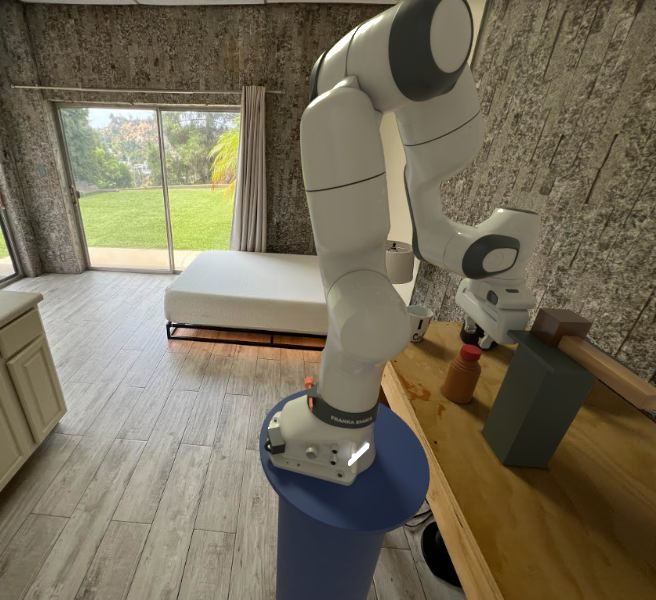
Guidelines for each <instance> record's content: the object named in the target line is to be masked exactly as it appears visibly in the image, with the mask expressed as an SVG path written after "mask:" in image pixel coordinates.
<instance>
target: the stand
mask: <svg viewBox="0 0 656 600" xmlns="http://www.w3.org/2000/svg"><path fill="white" fill-rule="evenodd" d="M507 335H508V336H509V337H510V338H512V339H513V340H514V341H515V342H516V343H517V346H516V348H515V351H514V353H513V355H512V358H511V360H510V362H509V364H508V367H507V370H506V373H505V375H504V377H503V380H502V382H501V384H500V387H499V390H498V392H497V394H496V396H495V399H494V401H493V404H492V406H491V409H490V411H489V413H488V416H487V418H486V420H485V423H484V425H483V428H482V430H481V434H482V436H483V437H484V438H485V440H486V442H487V443H488V444H489V446H490V448H491V449H492V451H493V452H494V454H495V455H496V457H497V458H498V460H499V461H500V463H501V464H502V465H505V466H515V467H516V466H517V467H529V468H541V469H542V468H543V469H546V468H547V467H548V466H549V463H550V461H551V460H552V458H553V457H554V455H555V453H556V451H557V449H558V448H559V446H560V444H561V443H562V440H563V439H564V437H565V436H566V434H567V432H568V430H569V429H570V427H571V425H572V423H573V422H574V420H575V419H576V417H577V415H578V414H579V412H580V410H581V408H582V406H583V405H584V403H585V401H586V399H587V398H588V396H589V394H590V392H591V391H592V389H593V388H594V385H595V383H596V382H597V380H598V379H599V378H598V377H596V376H595V375H594V374H592V373H591V372H590V371H588V370H587V369H586V368H584V367H583V366H582V365H580V364H579V363H578V362H576V361H575V360H574V359H572V358H571V357H570V356H568V355H567V354H566V353H564V352H563V351H562V350H560V349H559V348H558V347H549V346H547V345H546V344H545V343H544V342H542V341H541V340H540V339H538V338H537V337H536V336H535V335H533V334H532V333H531V332H530V330H526V329H525V330H508V331H507ZM584 341H586V342H587V343H589V344H590V345H592V346H593V347H595V348H596V349H598V350H599V351H601V352H602V353H604V354H606V355H607V356H609V357H610V358H612V359H613V360H615V361H616V362H618V363H619V364H621V365H622V366H624V367H625V368H627V369H628V370H630V371H631V372H633V373H634V374H636V375H637V376H640V372H638V371H636V370H635V369H634V368H632V367H630V366H629V365H628V364H626V363H624V362H623V361H621V360H619V359H618V358H617V357H615V356H614V355H612V354H611V353H609V352H608V351H606V350H605V349H603V348H601V347H600V346H599V345H597V344H596V345H595V344H594V343H592V342H590V341H589V340H587V339H586V338H585V340H584Z"/></svg>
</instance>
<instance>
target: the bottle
mask: <svg viewBox="0 0 656 600" xmlns="http://www.w3.org/2000/svg"><path fill="white" fill-rule="evenodd" d="M481 374H482V366H481V364H480V362H479V360H478V361H468V360H466V359H464V358H462V357H461V356H460V355H458V356H456V357H454V358H453V359H452V360H451V361H450V364H449V367H448V371H447V374H446V378H445V381H444V383H443V386H442V389H441V390H442V392H441V393H442V394H443V395H444V397H445V398H447V399H448V400H449V401H451V402H454V403H457V404H462V405H463V404H469V403H470V402H471V401H472V398H473V395H474V394H475V393H474V392H475V391H476V388H477V385H478V383H479V380H480V377H481Z"/></svg>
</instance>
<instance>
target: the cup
mask: <svg viewBox="0 0 656 600" xmlns="http://www.w3.org/2000/svg"><path fill="white" fill-rule="evenodd" d="M406 306H407V305H406ZM407 310H408V313H409V317H410V322H411V327H412V337H411V340H410V342H413V343H416V342H420V341H422V340H423V338H424V336H425V335H426V333H427V331H428V329H429V327H430V324H431V321H432V318H433V315H434V312H433V311H432V310H431V309H429V308H427V307H425V306H422V305H408V306H407Z"/></svg>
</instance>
